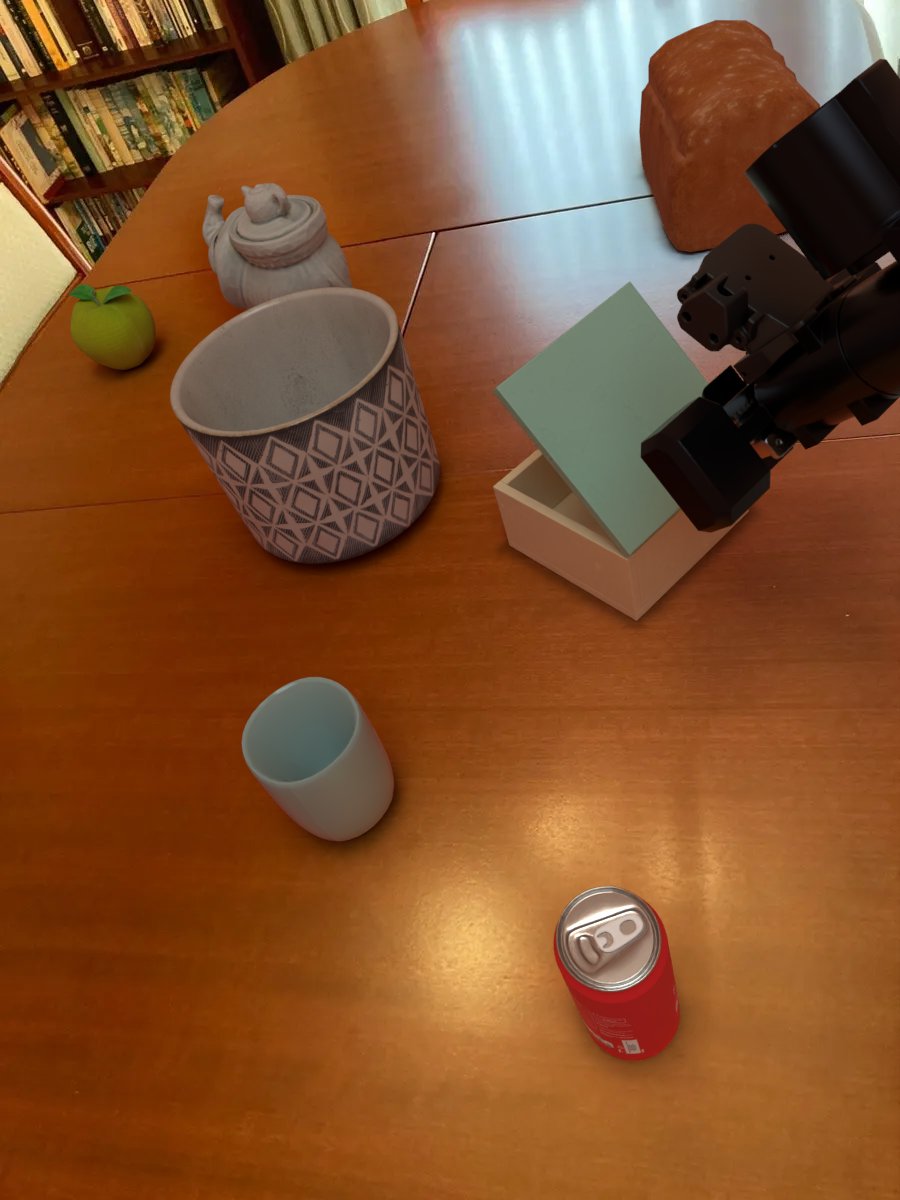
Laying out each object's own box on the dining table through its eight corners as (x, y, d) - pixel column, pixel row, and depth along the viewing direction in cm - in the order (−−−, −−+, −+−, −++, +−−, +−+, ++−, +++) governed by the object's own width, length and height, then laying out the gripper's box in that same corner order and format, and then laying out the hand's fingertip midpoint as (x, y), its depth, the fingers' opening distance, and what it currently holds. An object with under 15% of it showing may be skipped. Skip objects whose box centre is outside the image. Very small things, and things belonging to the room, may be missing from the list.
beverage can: (568, 992, 50) (531, 913, 41) (648, 948, 50) (627, 861, 42) (615, 1084, 46) (585, 1019, 38) (700, 1036, 47) (690, 961, 38)
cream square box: (509, 545, 74) (492, 486, 69) (616, 451, 78) (607, 389, 73) (636, 621, 65) (627, 560, 60) (749, 511, 69) (749, 446, 64)
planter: (481, 443, 83) (436, 287, 71) (394, 597, 73) (324, 445, 61) (314, 427, 91) (249, 285, 79) (215, 563, 81) (123, 424, 69)
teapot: (247, 321, 110) (176, 171, 96) (362, 283, 109) (306, 126, 95) (248, 395, 99) (168, 238, 85) (376, 354, 97) (316, 188, 84)
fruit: (129, 337, 115) (87, 267, 107) (182, 341, 110) (142, 269, 103) (85, 381, 110) (38, 311, 103) (138, 387, 106) (92, 315, 98)
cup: (341, 880, 58) (283, 810, 50) (279, 808, 63) (218, 735, 55) (429, 799, 60) (385, 721, 53) (362, 735, 65) (314, 655, 57)
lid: (491, 391, 59) (495, 387, 58) (624, 286, 63) (630, 280, 62) (624, 557, 60) (630, 554, 60) (746, 443, 65) (752, 439, 64)
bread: (778, 128, 108) (782, -10, 97) (837, 223, 92) (850, 70, 81) (637, 164, 111) (626, 34, 100) (671, 262, 95) (661, 119, 84)
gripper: (897, 108, 44) (716, 260, 59) (657, 305, 38) (523, 419, 53) (1024, 287, 45) (815, 392, 60) (809, 504, 39) (636, 561, 54)
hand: (701, 435), depth 57 cm, fingers closed
